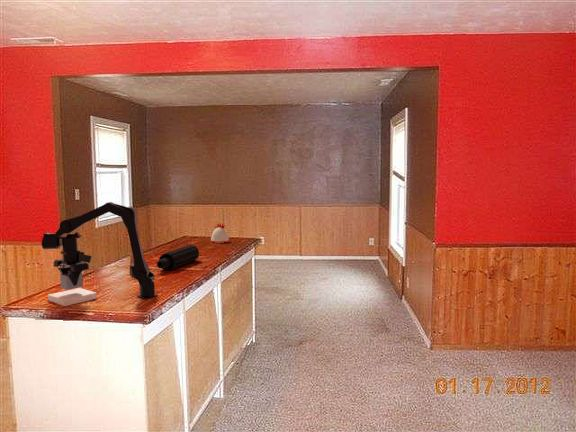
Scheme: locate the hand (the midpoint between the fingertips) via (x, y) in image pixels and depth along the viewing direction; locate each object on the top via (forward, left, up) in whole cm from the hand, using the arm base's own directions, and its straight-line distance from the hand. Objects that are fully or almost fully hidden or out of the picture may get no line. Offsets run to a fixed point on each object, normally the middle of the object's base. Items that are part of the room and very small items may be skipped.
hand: (72, 284), depth 192 cm
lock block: (0, 0, -1) cm, 1 cm away
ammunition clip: (+23, -47, -7) cm, 53 cm away
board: (0, 0, -7) cm, 7 cm away
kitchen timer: (+65, -150, -7) cm, 164 cm away
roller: (+19, -71, -7) cm, 74 cm away
